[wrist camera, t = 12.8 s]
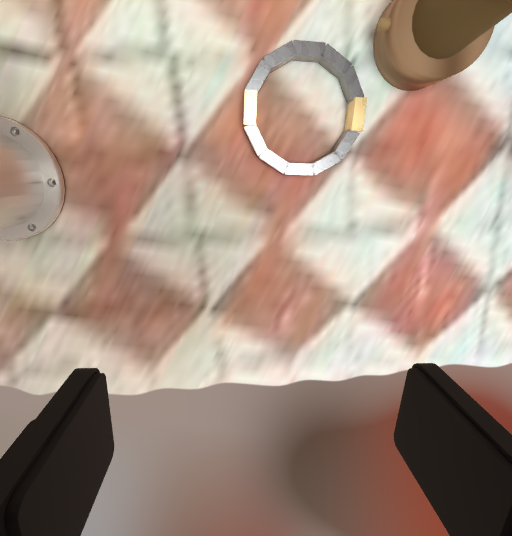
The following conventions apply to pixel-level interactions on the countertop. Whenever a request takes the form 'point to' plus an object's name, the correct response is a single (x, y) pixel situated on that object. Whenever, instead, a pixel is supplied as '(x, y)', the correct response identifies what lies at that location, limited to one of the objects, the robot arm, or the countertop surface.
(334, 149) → the collar
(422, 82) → the pot
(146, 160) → the countertop surface
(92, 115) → the countertop surface
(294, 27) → the countertop surface
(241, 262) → the countertop surface
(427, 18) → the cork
